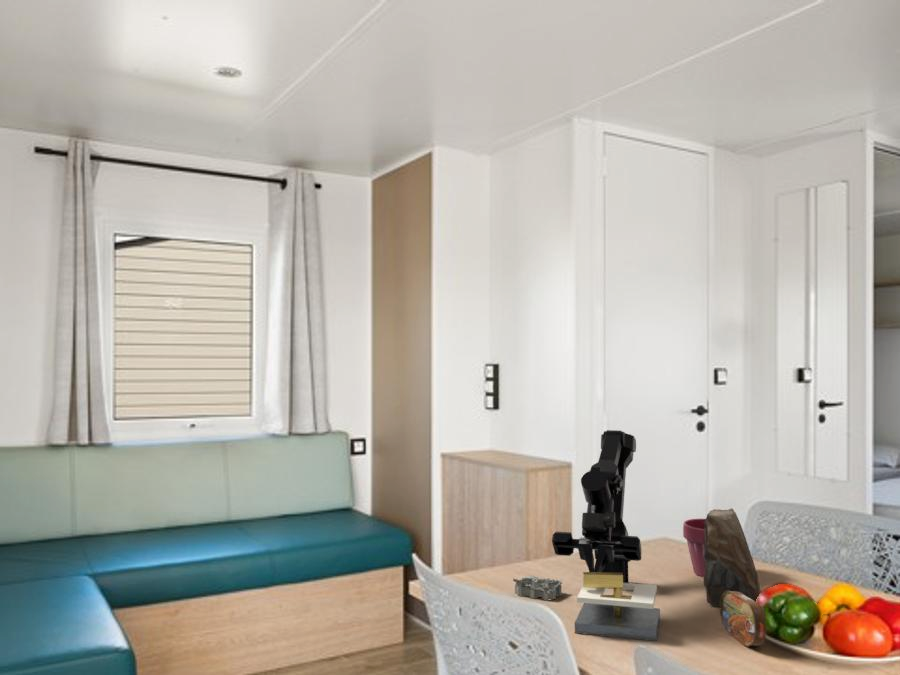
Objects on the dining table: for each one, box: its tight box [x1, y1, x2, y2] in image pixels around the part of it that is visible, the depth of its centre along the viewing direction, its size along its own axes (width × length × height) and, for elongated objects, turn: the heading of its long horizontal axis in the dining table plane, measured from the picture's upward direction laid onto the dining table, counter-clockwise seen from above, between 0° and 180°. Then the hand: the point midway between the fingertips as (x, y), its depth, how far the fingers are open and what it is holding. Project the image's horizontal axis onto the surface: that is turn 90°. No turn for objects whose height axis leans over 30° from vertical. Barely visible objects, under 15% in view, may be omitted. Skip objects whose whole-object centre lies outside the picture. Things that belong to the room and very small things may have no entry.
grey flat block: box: [574, 603, 661, 641], centre depth 160 cm, size 16×14×2 cm
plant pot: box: [682, 518, 706, 578], centre depth 198 cm, size 14×14×13 cm
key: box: [582, 571, 632, 616], centre depth 161 cm, size 11×2×8 cm, turn 84°
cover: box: [576, 582, 658, 609], centre depth 161 cm, size 15×13×1 cm
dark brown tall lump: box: [703, 507, 762, 609], centre depth 177 cm, size 13×13×20 cm
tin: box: [719, 591, 767, 647], centre depth 152 cm, size 15×3×8 cm, turn 5°
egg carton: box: [512, 575, 564, 601], centre depth 183 cm, size 11×8×4 cm
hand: (593, 581), depth 162 cm, fingers closed, pressing on key
